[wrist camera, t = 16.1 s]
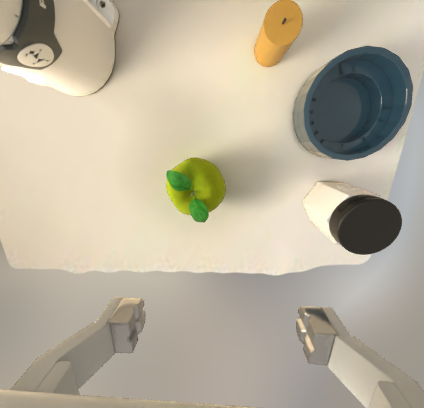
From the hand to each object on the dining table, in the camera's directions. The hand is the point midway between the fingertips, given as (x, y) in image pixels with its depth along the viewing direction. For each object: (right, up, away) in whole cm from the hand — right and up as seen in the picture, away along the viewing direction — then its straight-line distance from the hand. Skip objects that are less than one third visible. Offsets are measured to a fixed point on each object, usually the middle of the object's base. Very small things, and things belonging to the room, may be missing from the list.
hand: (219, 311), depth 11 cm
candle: (+9, +30, +21) cm, 37 cm away
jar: (+21, +6, +28) cm, 35 cm away
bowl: (+20, +21, +23) cm, 37 cm away
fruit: (-3, +10, +28) cm, 30 cm away
